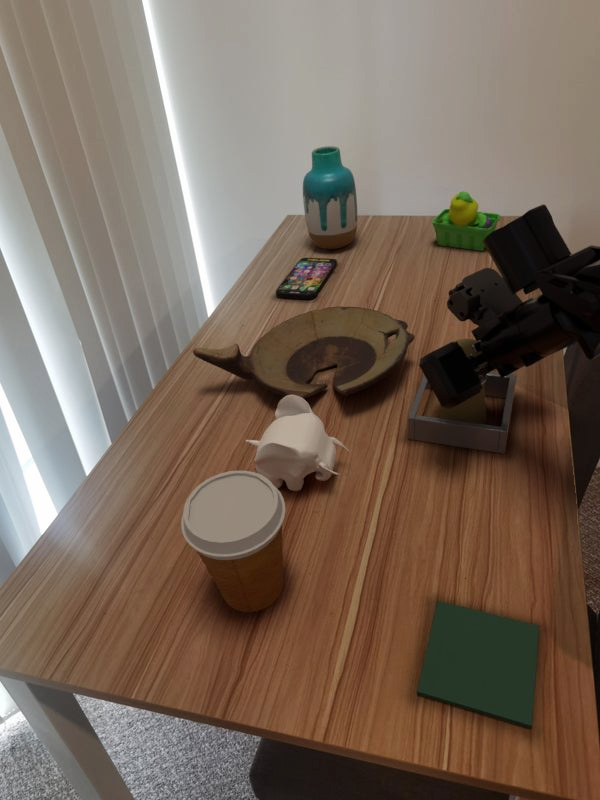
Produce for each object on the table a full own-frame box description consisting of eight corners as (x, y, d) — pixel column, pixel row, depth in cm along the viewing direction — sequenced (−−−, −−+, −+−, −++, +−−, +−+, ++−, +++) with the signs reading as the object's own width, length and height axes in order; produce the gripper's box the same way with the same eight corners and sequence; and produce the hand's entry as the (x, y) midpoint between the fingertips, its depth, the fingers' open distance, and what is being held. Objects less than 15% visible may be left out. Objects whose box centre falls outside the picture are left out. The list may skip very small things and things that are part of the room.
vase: (298, 251, 125) (286, 156, 113) (326, 232, 131) (318, 140, 119) (341, 259, 119) (333, 160, 108) (368, 239, 126) (364, 143, 114)
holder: (514, 395, 80) (516, 374, 77) (504, 454, 71) (507, 431, 69) (426, 385, 84) (426, 364, 81) (408, 439, 75) (407, 417, 73)
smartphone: (273, 292, 109) (301, 257, 120) (273, 297, 109) (301, 261, 120) (313, 295, 106) (338, 258, 117) (314, 300, 107) (339, 263, 118)
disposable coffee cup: (236, 536, 66) (214, 457, 59) (314, 562, 62) (301, 480, 55) (188, 608, 59) (156, 529, 52) (271, 641, 56) (250, 561, 48)
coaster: (538, 629, 53) (539, 625, 53) (531, 729, 47) (532, 725, 47) (437, 604, 57) (437, 600, 56) (416, 694, 50) (416, 691, 50)
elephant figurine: (340, 508, 67) (334, 450, 62) (240, 498, 71) (226, 442, 65) (354, 451, 75) (350, 394, 69) (263, 444, 78) (252, 389, 72)
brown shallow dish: (406, 424, 78) (405, 376, 73) (192, 412, 85) (179, 368, 80) (419, 333, 94) (419, 289, 90) (239, 329, 102) (231, 289, 97)
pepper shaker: (474, 438, 74) (480, 364, 67) (430, 422, 77) (431, 351, 71) (494, 411, 78) (501, 339, 71) (451, 397, 81) (454, 327, 74)
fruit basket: (499, 238, 118) (504, 181, 111) (484, 257, 113) (489, 197, 106) (444, 232, 124) (446, 177, 117) (427, 249, 118) (428, 192, 111)
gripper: (563, 229, 64) (479, 288, 78) (433, 289, 57) (366, 342, 71) (616, 320, 63) (521, 363, 78) (490, 392, 56) (411, 424, 71)
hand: (456, 370), depth 74 cm, fingers closed on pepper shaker, 5 cm apart
